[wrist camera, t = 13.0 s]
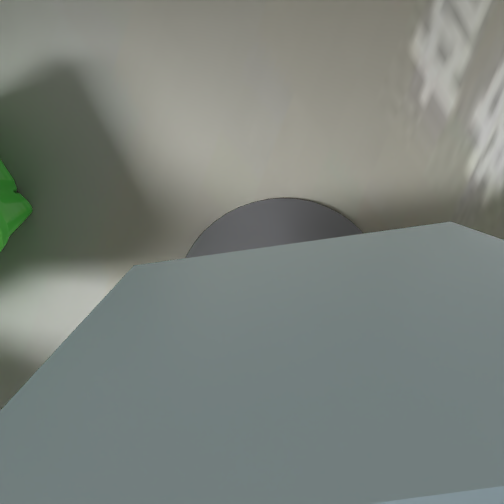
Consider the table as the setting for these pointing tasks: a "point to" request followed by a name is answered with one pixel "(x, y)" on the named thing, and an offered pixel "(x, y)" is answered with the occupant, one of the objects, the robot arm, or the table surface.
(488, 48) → the table surface
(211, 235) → the disc
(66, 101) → the table surface
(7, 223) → the fruit basket
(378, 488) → the pale blue cube
